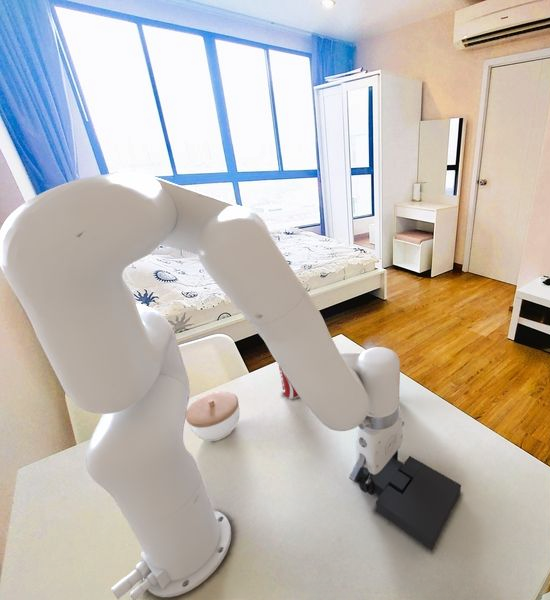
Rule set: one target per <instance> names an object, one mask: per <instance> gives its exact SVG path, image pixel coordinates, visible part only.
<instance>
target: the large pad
mask: <svg viewBox="0 0 550 600" xmlns="http://www.w3.org/2000/svg"><path fill="white" fill-rule="evenodd" d="M400 472H401V473H403V474H404V475H406V476H408V477H409V478H410V484H409V486H408V487H407V488H406V490H405V491H404V493H403V494H401V493H400V492H398V491H396V490H395V489H393V488H392V487H390V486H389V485H388V486H387V487H386V488H385V490H384V491H383V492H382V494H381V495H380V496H378V497H377V499H376V500H375V508H376V509H375V511H376V512H377V513H378V514H380V515H381V516H382V517H384V518H385V519H386V520H388V521H389V522H391V523H392V524H393V525H395V526H396V527H398V528H399V529H400V530H402V531H403V532H405V533H406V534H407V535H409V536H410V537H412V538H413V539H415V540H416V541H417V542H418V543H420V544H421V545H423V546H424V547H426V548H427V549H428V550H430V551H433V549H434V547H435V545H436V543H437V541H438V539H439V537H440V535H441V533H442V531H443V529H444V528H445V526H446V523H447V521H448V519H449V517H450V516H451V513H452V511H453V509H454V508H455V505H456V504H457V501H458V500H459V498H460V496H461V489H462V484H460V483H459V482H457V481H455V480H453V479H451V478H450V477H448V476H446V475H444V474H443V473H441V472H439V470H438V471H437V470H436V469H434V468H432V466H431V467H430V466H429V465H427V464H425V463H424V462H422V461H420V460H418V459H416V458H415V457H413V456H411V455H409V456H407V458H406V460H405V461H404V463H403V465H402V467H401V468H400Z"/></svg>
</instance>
